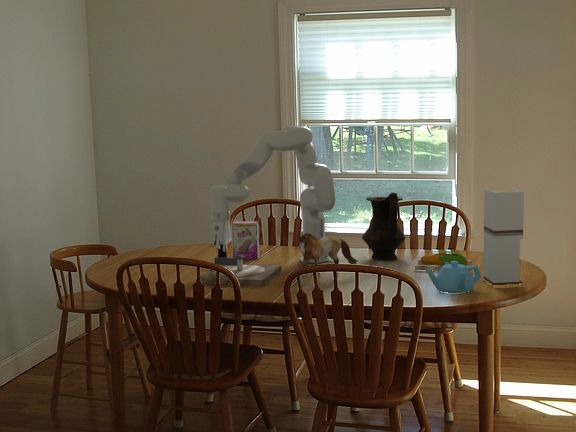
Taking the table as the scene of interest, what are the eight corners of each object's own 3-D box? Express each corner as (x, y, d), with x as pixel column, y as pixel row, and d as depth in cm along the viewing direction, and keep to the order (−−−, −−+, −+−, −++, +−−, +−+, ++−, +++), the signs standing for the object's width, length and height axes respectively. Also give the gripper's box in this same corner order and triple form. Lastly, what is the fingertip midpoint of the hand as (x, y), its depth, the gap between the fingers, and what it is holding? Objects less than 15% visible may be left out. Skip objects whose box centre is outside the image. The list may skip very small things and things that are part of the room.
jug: (355, 257, 353) (354, 189, 348) (393, 253, 358) (393, 186, 354) (375, 266, 333) (374, 194, 328) (415, 262, 338) (415, 191, 334)
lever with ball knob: (245, 268, 321) (245, 255, 320) (243, 270, 317) (242, 256, 316) (217, 268, 323) (216, 254, 322) (214, 270, 320) (213, 256, 319)
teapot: (463, 298, 279) (463, 267, 277) (425, 292, 288) (425, 263, 287) (483, 289, 290) (483, 259, 289) (445, 283, 300) (445, 255, 298)
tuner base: (281, 271, 329) (281, 262, 328) (263, 286, 304) (263, 277, 303) (219, 269, 336) (219, 260, 335) (196, 284, 311) (196, 274, 310)
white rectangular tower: (522, 287, 291) (523, 191, 286) (493, 288, 291) (494, 192, 285) (510, 279, 303) (512, 187, 297) (483, 281, 302) (484, 188, 296)
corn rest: (472, 266, 327) (472, 260, 327) (471, 272, 316) (471, 266, 316) (417, 264, 333) (417, 259, 333) (414, 271, 322) (414, 265, 321)
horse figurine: (303, 290, 297) (301, 235, 294) (288, 286, 303) (287, 233, 299) (359, 275, 318) (358, 224, 315) (344, 272, 323) (343, 222, 320)
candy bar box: (233, 259, 355) (231, 223, 352) (234, 257, 360) (233, 221, 357) (258, 259, 353) (256, 222, 351) (259, 257, 358) (258, 221, 356)
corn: (463, 253, 315) (416, 249, 326) (462, 273, 316) (416, 268, 327) (470, 251, 321) (423, 247, 332) (469, 270, 322) (423, 265, 333)
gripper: (223, 219, 312) (225, 265, 315) (235, 213, 327) (237, 257, 329) (204, 219, 314) (207, 265, 317) (218, 213, 329) (220, 257, 331)
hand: (222, 261), depth 323 cm, fingers closed
